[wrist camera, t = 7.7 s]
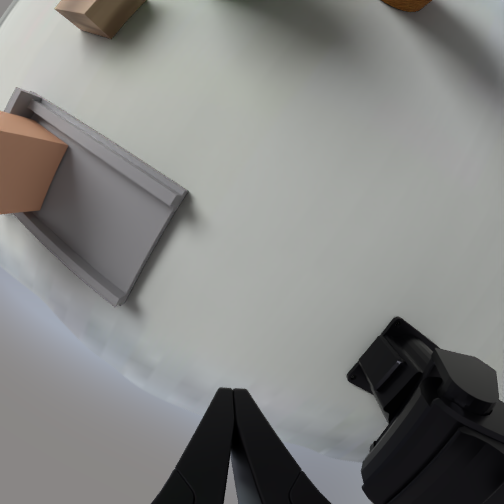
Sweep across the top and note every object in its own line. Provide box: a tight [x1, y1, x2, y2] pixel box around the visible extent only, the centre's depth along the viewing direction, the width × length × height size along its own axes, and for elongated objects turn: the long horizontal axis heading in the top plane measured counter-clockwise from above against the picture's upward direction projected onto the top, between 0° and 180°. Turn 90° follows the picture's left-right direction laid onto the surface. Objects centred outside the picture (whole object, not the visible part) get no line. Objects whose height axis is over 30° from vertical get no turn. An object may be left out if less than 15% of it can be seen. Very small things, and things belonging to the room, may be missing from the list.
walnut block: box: [54, 0, 146, 39], centre depth 14 cm, size 5×5×5 cm
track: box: [4, 87, 188, 307], centre depth 18 cm, size 20×10×4 cm, turn 56°
